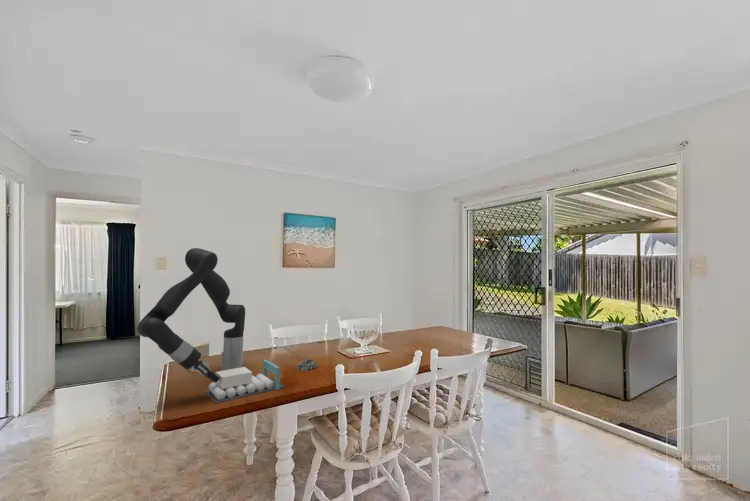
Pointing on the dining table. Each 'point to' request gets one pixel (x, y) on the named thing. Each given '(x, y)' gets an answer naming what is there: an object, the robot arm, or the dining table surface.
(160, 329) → the robot arm
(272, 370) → the bar
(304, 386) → the dining table surface
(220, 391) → the roller bed
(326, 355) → the dining table surface
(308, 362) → the egg carton
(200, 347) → the supplement box
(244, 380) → the slab
